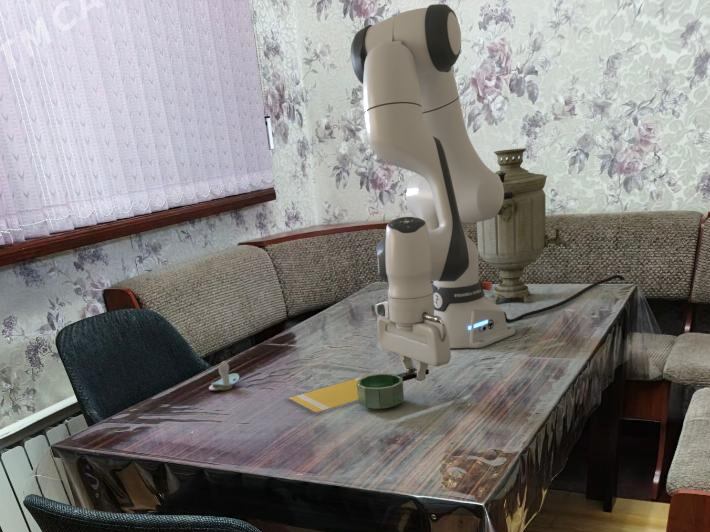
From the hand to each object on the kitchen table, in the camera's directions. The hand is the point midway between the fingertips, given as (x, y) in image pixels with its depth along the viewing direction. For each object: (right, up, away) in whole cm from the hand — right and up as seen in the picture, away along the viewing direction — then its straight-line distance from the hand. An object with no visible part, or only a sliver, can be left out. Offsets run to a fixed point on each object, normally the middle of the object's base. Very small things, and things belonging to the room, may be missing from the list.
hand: (415, 378), depth 145 cm
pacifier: (-43, +1, +17) cm, 46 cm away
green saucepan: (-4, -4, -1) cm, 6 cm away
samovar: (+34, +38, +68) cm, 85 cm away
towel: (-15, -2, +6) cm, 17 cm away
